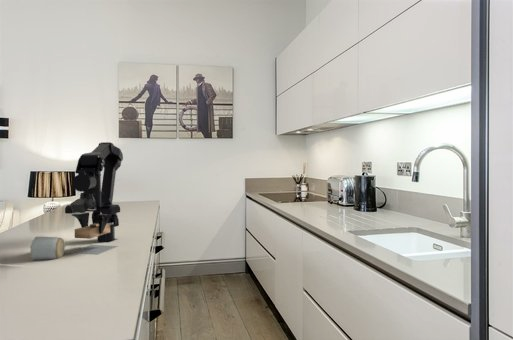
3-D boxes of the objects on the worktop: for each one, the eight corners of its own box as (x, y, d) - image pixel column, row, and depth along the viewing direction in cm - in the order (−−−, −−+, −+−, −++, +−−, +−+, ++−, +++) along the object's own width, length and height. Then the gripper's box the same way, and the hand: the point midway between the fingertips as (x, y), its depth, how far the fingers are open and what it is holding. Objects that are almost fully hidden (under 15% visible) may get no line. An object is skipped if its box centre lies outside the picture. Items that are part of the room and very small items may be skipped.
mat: (90, 246, 133) (90, 244, 133) (118, 247, 131) (118, 246, 131) (66, 254, 122) (66, 252, 122) (97, 256, 119) (97, 254, 119)
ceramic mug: (58, 261, 113) (57, 237, 113) (30, 263, 112) (29, 239, 112) (69, 253, 124) (68, 232, 123) (43, 255, 122) (43, 233, 122)
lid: (96, 231, 132) (95, 221, 132) (110, 232, 131) (110, 222, 130) (74, 238, 121) (74, 226, 121) (90, 238, 120) (89, 227, 120)
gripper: (52, 191, 120) (53, 237, 120) (100, 191, 116) (101, 238, 116) (75, 188, 131) (76, 230, 131) (120, 188, 126) (121, 232, 127)
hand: (93, 233), depth 126 cm, fingers closed on lid, 6 cm apart
